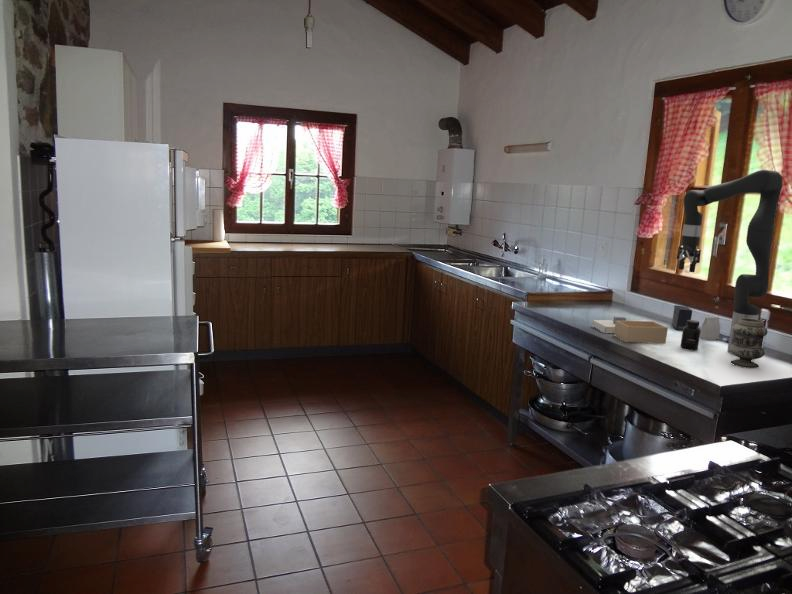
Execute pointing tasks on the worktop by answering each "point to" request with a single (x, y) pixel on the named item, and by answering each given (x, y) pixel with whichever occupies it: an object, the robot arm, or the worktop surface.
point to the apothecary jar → (748, 342)
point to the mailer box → (641, 331)
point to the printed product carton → (710, 328)
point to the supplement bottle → (690, 335)
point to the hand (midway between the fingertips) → (686, 270)
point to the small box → (681, 317)
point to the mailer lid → (607, 324)
